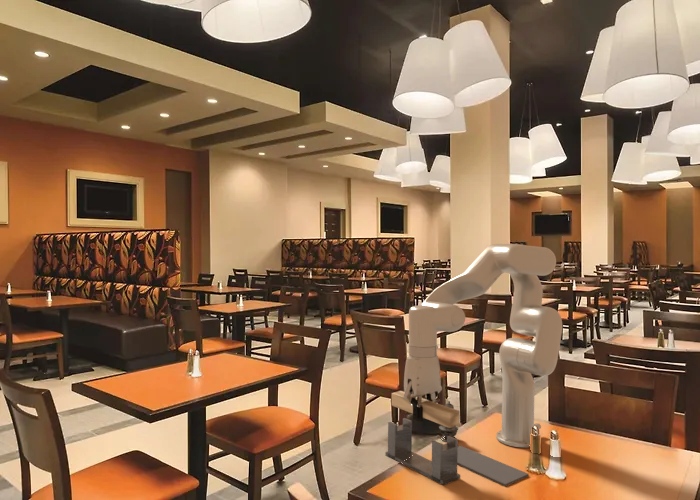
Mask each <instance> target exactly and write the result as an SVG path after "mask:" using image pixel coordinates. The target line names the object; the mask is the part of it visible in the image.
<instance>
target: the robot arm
mask: <svg viewBox="0 0 700 500" xmlns="http://www.w3.org/2000/svg"><path fill="white" fill-rule="evenodd" d="M556 266H557V258H556V255H555V252H553V251H552V250H551V249H550V248H548V247H543V246H537V245H525V244H519V243H495V244H490V245H488V246H486V247H485V249H484V250H483V251H481V252H480V254H478V256H477V257H476V258H475V259H474V260H473V261H472V263H471V264H469V266H468V267H467V268H466V269H465V270H464V271H463V272H462V273H461V274H459V275H457V276H455V277H453V278H452V279H451V278H450V280H448V281H446V282H444V283H442V284H441V285H439V286H438V287H436V288H435V289H434V290H433V291H432V292H431V293H430V294H429V295H428V296H427V297H426V298H425V299H424V300H423V302H422V303H421V304H419V305H413V306H411V307H410V308H409V310H408V356H406V360H405V367H404V376H403V392H405V394H404V398H405V399H407V400H408V401H409V402H410V403H411V405H413V414H412V419H413V420H414V421H418V422H421V423H422V422H423V421H424V418H423V407H421V401H422V398H423V396H424V397H425V398H424V399H426V400H429V401H432V402H435V403H437V402H436V401H437V397H438V396H439V393H441V391H442V390H443V387H442V385H441V383H442V382H441V367H440V360H439V355H438V349H439V346H438V339H437V338H438V334H437V333H438V332H444V333H445V332H448V333H451V332H456V331H458V330H460V329H461V328H462V327H463V326H464V325H465V322H466V313H465V312H464V310H463V309H462V308H461V307H459V306H458V305H456V304H457V303H459V302H462V301H465V300H469V299H475V298H477V297H480V296H482V295H485V294H486V292H488V291H489V289H490V288H491V287H492V286H493V284H494V283H496V281H497V280H498V279H499V278H500V276H502V275H503V274H504V273H507V274H509V276H510V278H511V280H512V283H513V286H514V287H513V288H514V291H513V297H512V305H511V311H510V316H509V326H510V328H511V330H512V331H513V332H514V333H516V334H520V335H525V336H529V337H533V338H535V340H530V339H524V338H520V337H510V338H506V339H505V340H504V341H503V342H502V343H501V345H500V347H499V351H498V352H499V353H498V354H499V356H498V357H499V361H500V366H501V377H502V386H501V387H502V388H501V389H502V390H501V391H502V392H501V430H499V431H498V432H497V433H496V435H495V436H496V440H497V441H499V442H500V443H501V444H503V445H506V446H509V447H515V448H522V449H523V448H524V449H525V448H526V449H527V448H530V447H529V445H530V434H531V429H532V427H534V426H537V427H538V428H539V430H541V428H542V425H541V423H539V422H538V423H535V385H536V384H535V381H534V378H533V375H536V376H542V377H546V376H549V375H551V374H552V373H553V372H554V371H555V369H556V367H557V363H558V358H559V352H560V347H561V346H560V345H561V339H562V334H563V321H562V320H563V319H562V316H561V314H560V313H559V312H558V310H556V309H555V308H553V307H550V306H543V305H542V302H543V292H544V289H543V286H542V283H541V281H540V278H539V277H542V276H543V277H544V276H545V277H546V276H548V275H550V274H551V273H553V271H554V270H555V268H556ZM538 276H539V277H538ZM532 374H533V375H532ZM411 394H412V396H411ZM416 397H417V400H416Z"/></svg>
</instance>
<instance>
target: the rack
mask: <svg viewBox="0 0 700 500" xmlns="http://www.w3.org/2000/svg"><path fill="white" fill-rule="evenodd" d="M387 423H388V425H387V450H386V451H385V454H384V455H385V456H386V457H387V458H389V459H391V460H394V461H395V462H397V463H399V464H401V462H402V463H403V464H402V465H403V466H404V467H407V468H408V469H411V470H413V471H414V472H417V473H418V474H419V475H422V476H424V477H427V478H428V479H430V480H432V481H434V482H436V483H438V484H440V485H442V486H445V485H448V484H450V483H453V482H454V481H459V480H460V479H461V474H460V473H458V465H457V457H458V446H459V445H458V443H459V442H458V441H459V439H458V438H457V439H455V438H456V437H455V438H453V437H451V436H447V442H445V443H441V442H439V441H436V440H432V441H431V460H430V459H429V458H427V457H424V456H422V455H420V454H418V453H416V452H414V451H412V449H413V448H412V447H413V446H412V442H413V441H412V439H413V435H412V434H413V433H412V432H413V420H410V419H408V418H406V417H403V418H402V424H400V425H398V424H396V423H394V422H392V421H389V422H387ZM412 455H413V456H412ZM409 457H410V458H409ZM406 459H407V460H406ZM404 460H405V461H404Z"/></svg>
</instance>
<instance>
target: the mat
mask: <svg viewBox="0 0 700 500" xmlns="http://www.w3.org/2000/svg"><path fill="white" fill-rule="evenodd" d="M457 466H459V467H461V468H463V469H466V470H469V471H470V472H472V473H474V474H477V475H479V476H481V477H484V478H485V479H488V480H490V481H491V482H494V483H496V484H498V485H500V486H502V487H507V486H510V485H512V484H514V483H516V482H519V481H521V480H523V479H525V478H528V477H529V476H530V475H529V473H528V472H525V471H522V470H520V469H518V468H516V467H513V466H512V465H509V464H507V463H503V462H501V461H499V460H497V459H493V458H491V457H490V456H487V455H485V454H482V453H479V452H478V451H477V452H476V451H475V450H473V449H470V448H468V447H465V446H462V445H458V457H457Z"/></svg>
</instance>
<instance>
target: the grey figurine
mask: <svg viewBox="0 0 700 500" xmlns="http://www.w3.org/2000/svg"><path fill="white" fill-rule="evenodd" d="M444 406H447V407H450V408H453V409H455V408H454V405H453V404H452V403H451V401H450V400H448V401H447V403H445V404H444ZM438 428H439V431H440V434H441V435H442V436H440V438H439V440H440V439H441V438H442V439H443V440H442V439H441V440H442V442H445V443H447V436H451V437H453V438H455V439H458V438H456V437H455V436H456V435H457V433H458V431H459V427H458V426H454V427H451V428H449V427H446V426H443V425H441V424H440V425H439V426H438ZM444 436H445V437H444ZM443 437H444V438H445V439H444V438H443ZM441 440H440V441H441Z"/></svg>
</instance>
